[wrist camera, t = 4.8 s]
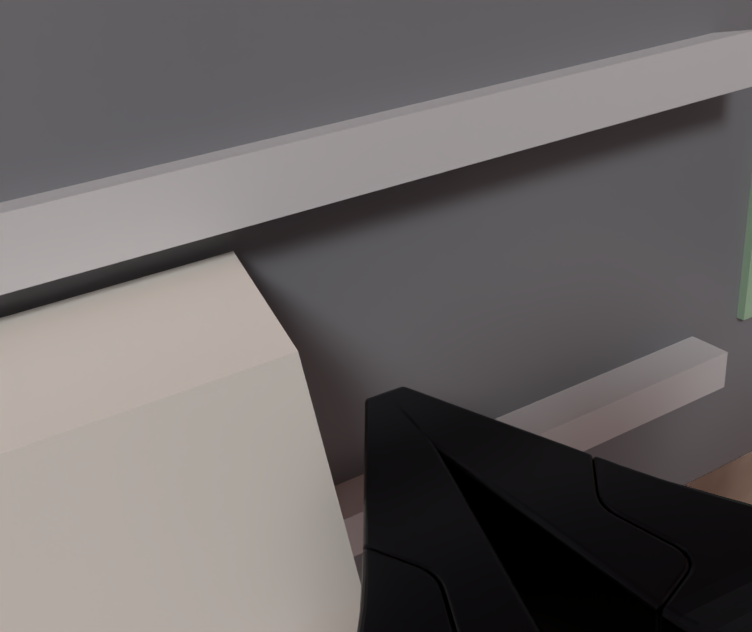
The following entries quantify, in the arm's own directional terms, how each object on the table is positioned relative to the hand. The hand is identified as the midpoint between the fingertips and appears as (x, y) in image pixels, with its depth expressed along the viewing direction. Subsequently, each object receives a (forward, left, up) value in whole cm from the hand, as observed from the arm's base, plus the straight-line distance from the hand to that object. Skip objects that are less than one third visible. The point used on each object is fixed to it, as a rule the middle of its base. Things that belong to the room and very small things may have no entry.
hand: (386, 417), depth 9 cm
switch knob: (+3, 0, -2) cm, 4 cm away
